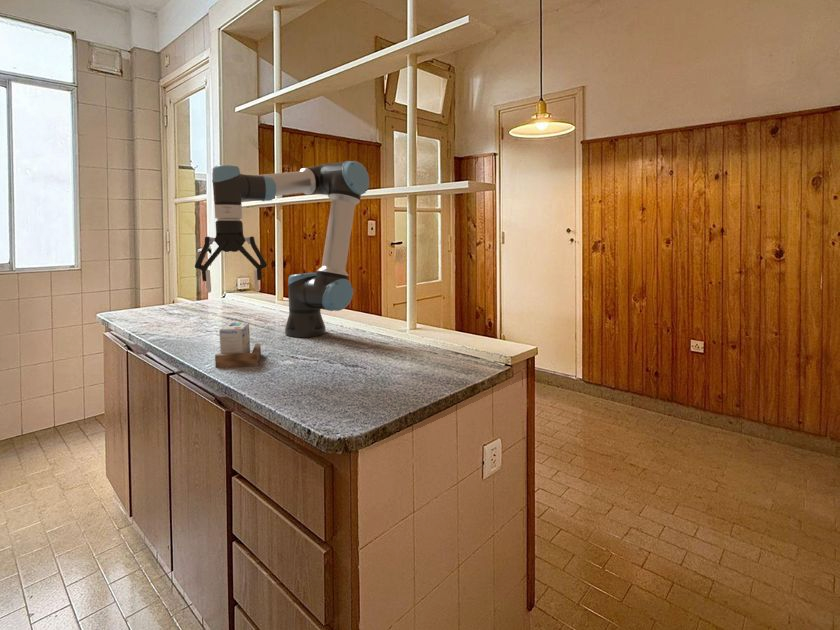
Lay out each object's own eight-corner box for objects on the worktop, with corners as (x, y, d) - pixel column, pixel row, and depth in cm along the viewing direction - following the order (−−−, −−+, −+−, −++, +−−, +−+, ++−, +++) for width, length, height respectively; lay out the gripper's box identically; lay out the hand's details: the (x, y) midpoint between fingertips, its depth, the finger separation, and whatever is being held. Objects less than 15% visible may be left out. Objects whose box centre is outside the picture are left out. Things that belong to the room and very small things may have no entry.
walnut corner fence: (260, 354, 165) (260, 343, 164) (257, 365, 152) (256, 353, 151) (222, 356, 162) (222, 345, 162) (215, 367, 149) (215, 355, 149)
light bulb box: (229, 355, 163) (227, 322, 161) (251, 355, 164) (249, 322, 162) (220, 364, 152) (218, 328, 151) (244, 364, 153) (242, 328, 151)
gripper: (180, 219, 146) (186, 294, 149) (272, 220, 151) (275, 292, 155) (185, 219, 153) (191, 291, 156) (273, 220, 158) (276, 288, 162)
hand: (233, 291), depth 156 cm, fingers open, 13 cm apart
